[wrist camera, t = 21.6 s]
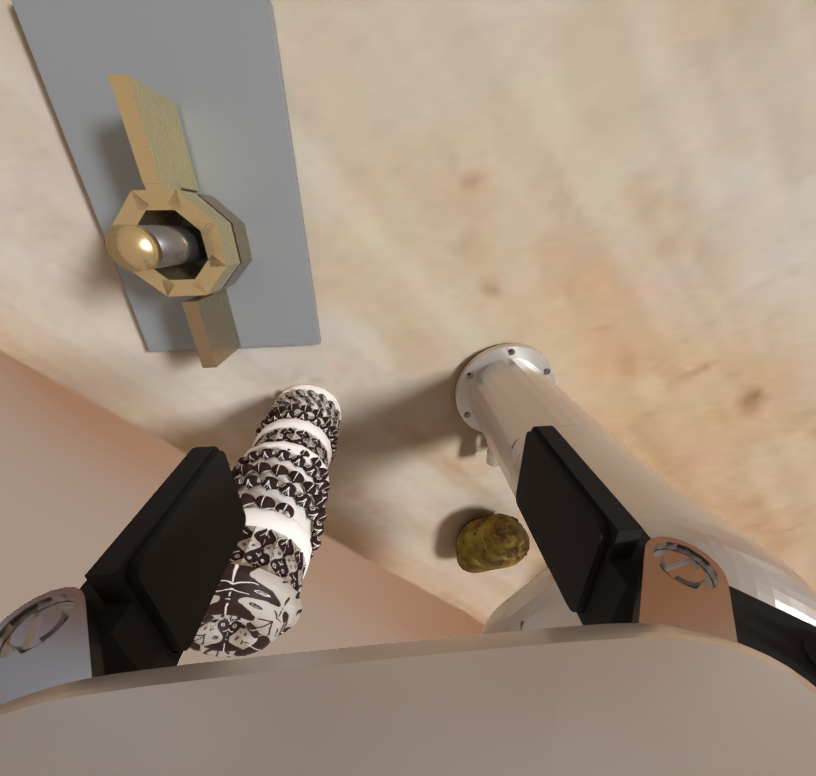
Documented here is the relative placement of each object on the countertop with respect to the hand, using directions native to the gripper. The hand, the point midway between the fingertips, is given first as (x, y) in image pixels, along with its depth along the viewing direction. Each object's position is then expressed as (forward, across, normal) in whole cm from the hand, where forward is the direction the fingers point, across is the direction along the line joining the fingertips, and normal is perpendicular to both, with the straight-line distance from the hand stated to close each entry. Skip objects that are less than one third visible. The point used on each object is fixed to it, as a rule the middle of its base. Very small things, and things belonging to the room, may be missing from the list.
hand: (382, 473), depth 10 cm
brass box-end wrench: (+27, +16, -9) cm, 33 cm away
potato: (+29, -14, +36) cm, 48 cm away
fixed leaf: (+27, +16, -3) cm, 32 cm away
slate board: (+28, +16, -9) cm, 34 cm away
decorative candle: (+28, +10, +14) cm, 33 cm away
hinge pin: (+27, +16, -6) cm, 32 cm away
